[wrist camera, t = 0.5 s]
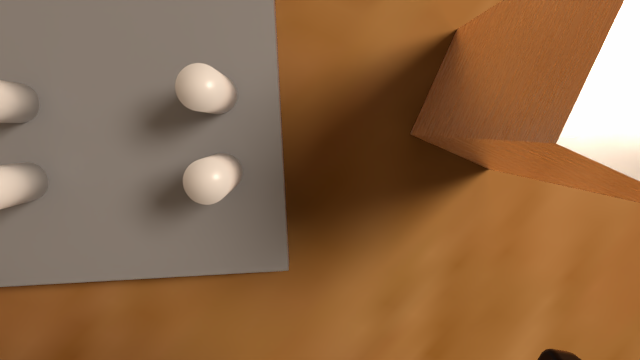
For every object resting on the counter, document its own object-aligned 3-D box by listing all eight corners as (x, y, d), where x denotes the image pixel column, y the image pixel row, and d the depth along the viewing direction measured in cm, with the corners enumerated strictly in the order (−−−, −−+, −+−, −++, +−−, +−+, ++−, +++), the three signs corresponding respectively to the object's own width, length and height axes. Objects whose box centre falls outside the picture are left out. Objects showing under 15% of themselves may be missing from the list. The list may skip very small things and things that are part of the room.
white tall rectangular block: (489, 169, 21) (732, 223, 9) (410, 134, 21) (556, 143, 9) (536, 66, 21) (857, -17, 9) (457, 29, 20) (677, -110, 8)
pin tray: (289, 262, 21) (285, 300, 17) (-2, 278, 21) (-89, 322, 16) (274, -11, 20) (266, -53, 15) (-38, 1, 19) (-145, -40, 15)
